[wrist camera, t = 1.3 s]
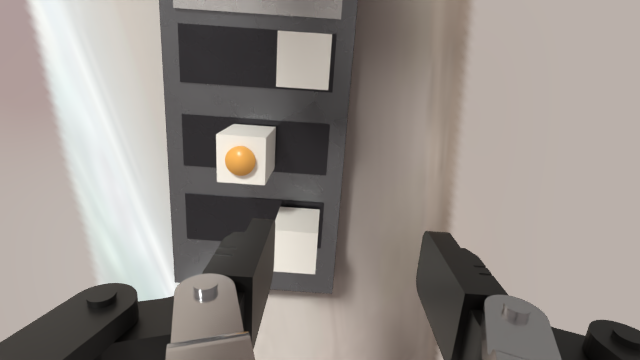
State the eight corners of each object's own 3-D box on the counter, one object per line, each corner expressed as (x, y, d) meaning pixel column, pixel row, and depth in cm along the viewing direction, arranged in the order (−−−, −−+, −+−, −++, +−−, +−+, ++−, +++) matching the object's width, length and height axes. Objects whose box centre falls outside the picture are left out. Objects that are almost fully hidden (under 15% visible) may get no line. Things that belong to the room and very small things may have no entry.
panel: (169, -40, 25) (154, -49, 23) (358, -27, 25) (361, -35, 23) (184, 269, 32) (173, 283, 30) (331, 280, 32) (332, 295, 30)
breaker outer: (280, 206, 28) (271, 230, 24) (319, 209, 28) (318, 233, 24) (278, 242, 29) (270, 271, 25) (317, 245, 29) (315, 274, 25)
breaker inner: (286, 36, 24) (277, 30, 20) (331, 39, 24) (332, 34, 20) (284, 83, 25) (276, 86, 21) (328, 86, 25) (328, 90, 21)
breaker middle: (233, 123, 26) (214, 135, 22) (275, 126, 26) (265, 138, 22) (233, 164, 27) (215, 183, 23) (274, 167, 27) (264, 187, 23)
